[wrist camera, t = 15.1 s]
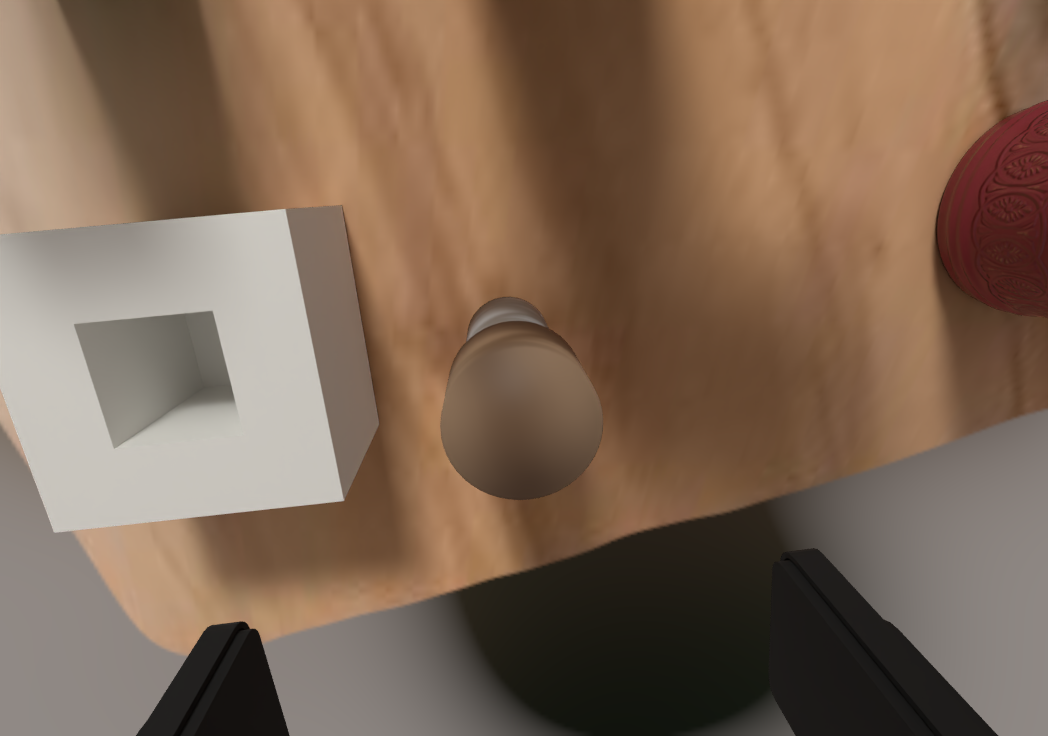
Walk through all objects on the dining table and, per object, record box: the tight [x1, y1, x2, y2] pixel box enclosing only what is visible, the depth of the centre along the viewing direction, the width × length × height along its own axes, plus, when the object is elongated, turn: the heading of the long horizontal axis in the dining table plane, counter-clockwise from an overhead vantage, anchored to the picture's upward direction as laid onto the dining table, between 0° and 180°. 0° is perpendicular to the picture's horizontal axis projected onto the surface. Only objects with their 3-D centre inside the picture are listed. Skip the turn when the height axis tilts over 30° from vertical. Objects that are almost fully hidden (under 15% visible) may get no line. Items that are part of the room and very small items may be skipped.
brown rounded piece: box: [440, 297, 603, 500], centre depth 30 cm, size 6×6×15 cm
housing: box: [0, 205, 379, 532], centre depth 31 cm, size 14×14×10 cm
